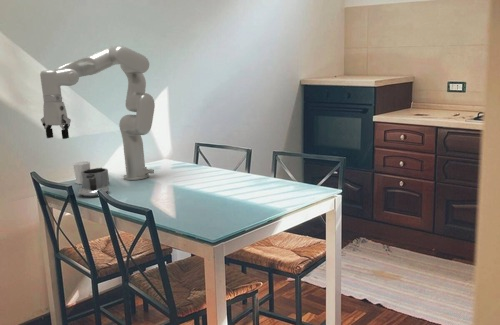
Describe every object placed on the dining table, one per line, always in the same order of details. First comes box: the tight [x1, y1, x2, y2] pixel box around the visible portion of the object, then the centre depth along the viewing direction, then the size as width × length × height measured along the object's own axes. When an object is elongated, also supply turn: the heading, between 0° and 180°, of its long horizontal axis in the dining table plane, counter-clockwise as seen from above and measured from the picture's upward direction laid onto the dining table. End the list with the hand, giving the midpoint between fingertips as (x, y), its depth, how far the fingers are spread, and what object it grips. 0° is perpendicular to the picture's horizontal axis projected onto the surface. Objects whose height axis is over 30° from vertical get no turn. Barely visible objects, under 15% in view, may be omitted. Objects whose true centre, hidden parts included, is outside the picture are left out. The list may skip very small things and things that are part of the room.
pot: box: [81, 167, 110, 188], centre depth 258 cm, size 12×17×7 cm
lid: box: [78, 178, 110, 198], centre depth 241 cm, size 13×13×8 cm
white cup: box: [72, 160, 91, 185], centre depth 264 cm, size 8×8×10 cm
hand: (57, 138), depth 236 cm, fingers open, 9 cm apart
